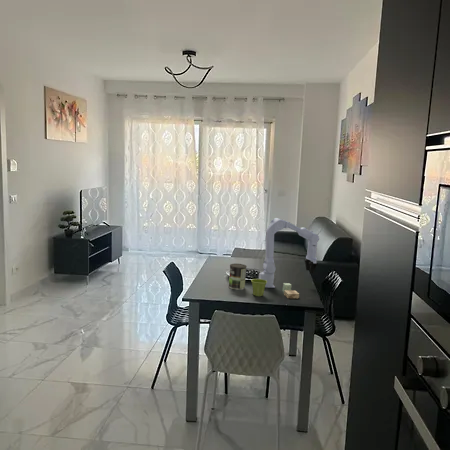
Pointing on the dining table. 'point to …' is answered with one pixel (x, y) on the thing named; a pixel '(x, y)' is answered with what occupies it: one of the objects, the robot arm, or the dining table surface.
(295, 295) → the oak block
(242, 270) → the coffee can
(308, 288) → the dining table surface
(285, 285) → the sage cube
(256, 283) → the plant pot
